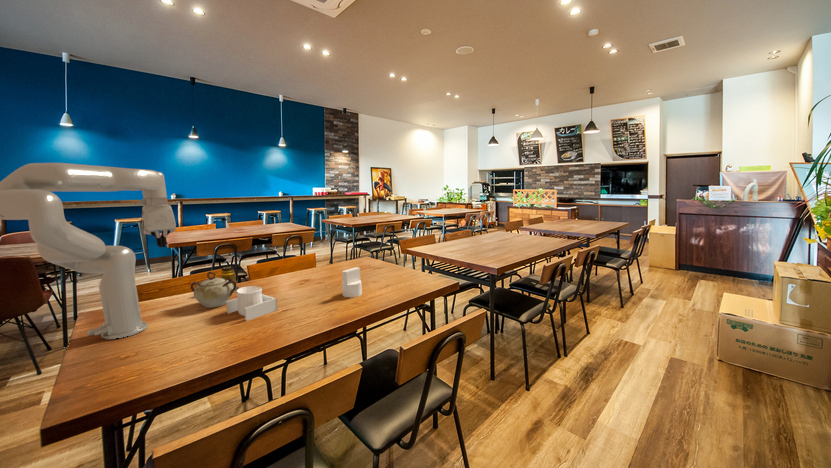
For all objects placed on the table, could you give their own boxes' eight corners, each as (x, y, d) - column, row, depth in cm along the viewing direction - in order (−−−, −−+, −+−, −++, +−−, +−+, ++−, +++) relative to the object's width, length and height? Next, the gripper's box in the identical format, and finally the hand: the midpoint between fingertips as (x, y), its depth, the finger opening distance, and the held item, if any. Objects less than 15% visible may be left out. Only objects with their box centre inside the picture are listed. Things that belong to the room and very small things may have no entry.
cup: (253, 317, 128) (250, 294, 126) (231, 315, 130) (229, 292, 129) (268, 308, 137) (266, 286, 136) (248, 306, 139) (246, 285, 138)
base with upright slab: (351, 298, 147) (350, 273, 145) (338, 294, 153) (337, 270, 151) (365, 293, 154) (364, 268, 153) (352, 289, 160) (351, 266, 158)
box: (246, 321, 125) (245, 308, 124) (227, 312, 133) (226, 301, 132) (277, 309, 135) (276, 298, 134) (257, 303, 144) (256, 292, 143)
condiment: (221, 294, 156) (218, 270, 155) (222, 289, 164) (219, 266, 162) (238, 291, 160) (236, 268, 158) (238, 286, 167) (236, 264, 165)
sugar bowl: (181, 311, 135) (176, 276, 133) (203, 298, 150) (200, 267, 148) (228, 310, 135) (224, 276, 133) (246, 298, 150) (243, 266, 148)
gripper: (135, 203, 123) (142, 251, 126) (181, 201, 135) (186, 244, 138) (129, 203, 127) (136, 249, 130) (173, 201, 139) (179, 243, 142)
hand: (162, 246), depth 134 cm, fingers closed
